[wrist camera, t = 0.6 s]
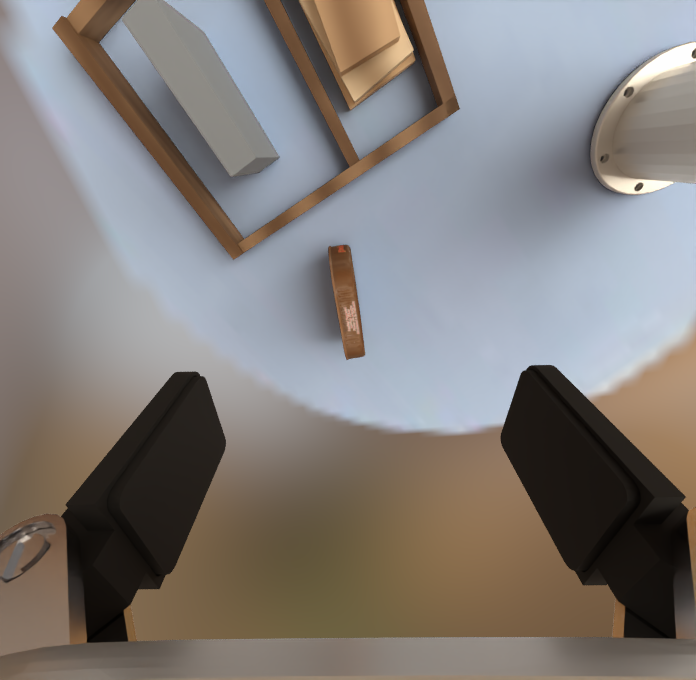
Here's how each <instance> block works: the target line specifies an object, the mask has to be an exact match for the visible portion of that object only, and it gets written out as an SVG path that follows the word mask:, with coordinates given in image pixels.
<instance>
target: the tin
mask: <svg viewBox="0 0 696 680" xmlns="http://www.w3.org/2000/svg"><path fill="white" fill-rule="evenodd" d="M328 253H329V265H330V272H331V279H332V285H333V291H334V297H335V303H336V308H337V314H338V319H339V325H340V330H341V336H342V342H343V347H344V352H345V356H346V359H347V360H348V359H351V358H358V357H363V356H365V349H364V341H363V333H362V325H361V317H360V310H359V303H358V297H357V289H356V282H355V276H354V269H353V263H352V256H351V250H350V247H349V246H348V245H340V246H334V247H331V246H329V247H328Z"/></svg>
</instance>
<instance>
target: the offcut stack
mask: <svg viewBox="0 0 696 680" xmlns="http://www.w3.org/2000/svg"><path fill="white" fill-rule="evenodd" d="M298 1H299V3H300V5H301V7H302V9H303V11H304V14H305V16H306V18H307V20H308V22H309V24H310V26H311V28H312V30H313V32H314V35H315V37H316V39H317V41H318V43H319V45H320V47H321V49H322V51H323V54H324V56H325V58H326V60H327V62H328V64H329V66H330V68H331V70H332V73H333V75H334V77H335V79H336V81H337V83H338V85H339V87H340V89H341V92H342V94H343V96H344V98H345V100H346V102H347V104H348V106H349V108H350V110H352V109H353V108H355V107H356V106H357V105H359V104H360V103H361V102H363V101H364V100H365V99H367V98H368V97H369V96H371V95H372V94H373V93H375V92H376V91H377V90H379V89H380V88H381V87H383V86H384V85H386V84H387V83H388V82H390V81H391V80H392V79H394V78H395V77H396V76H398V75H399V74H400V73H402V72H403V71H404V70H406V69H407V68H408V67H410V66H411V65H412V64H414V62H415V57H414V54H413V50H414V49H413V47H412V45H411V42H410V40H409V38H408V36H407V33H406V31H405V29H404V26H403V24H402V21H401V18H400V16H399V13H398V10H397V7H396V5H395V2H394V0H298Z"/></svg>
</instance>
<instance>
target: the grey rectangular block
mask: <svg viewBox="0 0 696 680" xmlns="http://www.w3.org/2000/svg"><path fill="white" fill-rule="evenodd" d="M122 21H123V22H124V24H125V25H126V27H127V28H128V29H129V31H130V32H131V34H132V35H133V37H134V38H135V40H136V41H137V42H138V44H139V45H140V47H141V48H142V50H143V51H144V52H145V54H146V55H147V57H148V58H149V60H150V61H151V63H152V64H153V65H154V67H155V68H156V70H157V71H158V73H159V74H160V76H161V77H162V78H163V80H164V81H165V83H166V84H167V86H168V87H169V89H170V90H171V91H172V93H173V94H174V96H175V97H176V99H177V100H178V101H179V103H180V104H181V106H182V107H183V109H184V110H185V112H186V113H187V114H188V116H189V117H190V119H191V120H192V122H193V123H194V125H195V126H196V127H197V129H198V130H199V132H200V133H201V135H202V136H203V137H204V139H205V140H206V142H207V143H208V145H209V146H210V148H211V149H212V150H213V152H214V153H215V155H216V156H217V158H218V159H219V161H220V162H221V163H222V165H223V166H224V168H225V169H226V171H227V172H228V173H229V175H230V176H231V177H235V176H242V175H248V174H254V173H259V172H261V171H262V170H263V169H265V168H266V167H267V166H269V165H270V164H271V163H273V162H274V161H275V160H277V159H278V158H279V155H278V153H277V152H276V150H275V148H274V147H273V145H272V143H271V142H270V140H269V139H268V137H267V135H266V134H265V132H264V130H263V129H262V127H261V125H260V124H259V122H258V120H257V119H256V117H255V115H254V114H253V112H252V110H251V109H250V107H249V105H248V104H247V102H246V101H245V99H244V97H243V96H242V94H241V92H240V91H239V89H238V87H237V86H236V84H235V82H234V81H233V79H232V77H231V76H230V74H229V72H228V71H227V69H226V68H225V66H224V64H223V63H222V61H221V59H220V58H219V56H218V54H217V53H216V51H215V49H214V48H213V46H212V44H211V43H210V41H209V39H208V38H207V36H206V34H205V33H204V32H203V31H202V30H201V29H200V28H198V27H197V26H196V25H194V24H193V23H192V22H191V21H189V20H188V19H187V18H186V17H184V16H183V15H182V14H180V13H179V12H178V11H177V10H175V9H174V8H173V7H172V6H170V5H169V4H168V3H167V2H165V1H164V0H137V2H136V3H135V4H134V5H133V6H132V7H131V8H130V10H129V11H128V12H127V13H126V14H125V15H124V16H123V18H122Z"/></svg>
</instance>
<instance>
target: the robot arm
mask: <svg viewBox="0 0 696 680" xmlns="http://www.w3.org/2000/svg"><path fill="white" fill-rule="evenodd" d="M590 157H591V165H592V168H593V171H594V174H595V176H596V177H597V179H598V180H599V182H600V183H601V184H602V185H604V186H605V187H606V188H607V189H609V190H612V191H614V192H616V193H622V194H629V195H639V194H646V193H651V192H654V191H657V190H660V189H663V188H665V187H667V186H669V185H671V184H673V183H675V182H680V183H692V184H696V42H689V43H685V44H682V45H679V46H675V47H673V48H670V49H668V50H666V51H663V52H661V53H659V54H657V55H655V56H654V57H652V58H650V59H649V60H647V61H646V62H644V63H643V64H642V65H641V66H639V67H638V68H637V69H636V70H634V71H633V72H632V73H631V74H630V75H629V76H628V77H627V78H626V79H625V80H624V81H623V82H622V83H621V84H620V85H619V87H618V88H617V89H616V91H615V92H614V93H613V95H612V96H611V97H610V99H609V100H608V102H607V103H606V105H605V107H604V109H603V110H602V112H601V114H600V116H599V119H598V121H597V124H596V126H595V129H594V133H593V137H592V141H591V151H590ZM600 158H601V159H600ZM501 444H502V446H503V449H504V451H505V452H506V454H507V456H508V458H509V460H510V462H511V464H512V465H513V467H514V469H515V471H516V473H517V475H518V477H519V478H520V480H521V482H522V484H523V486H524V487H525V489H526V491H527V493H528V495H529V497H530V499H531V501H532V502H533V504H534V506H535V508H536V510H537V512H538V513H539V515H540V517H541V519H542V521H543V523H544V525H545V527H546V528H547V530H548V532H549V534H550V536H551V538H552V540H553V541H554V543H555V545H556V547H557V549H558V551H559V553H560V554H561V556H562V558H563V560H564V562H565V563H566V565H567V566H568V567H569V568H570V569H571V570H574V571H575V572H576V574H577V575H578V577H579V579H580V581H581V582H582V584H583V585H607V584H608V586H609V587H610V589H611V590H612V592H613V594H614V596H615V609H614V623H613V635H612V637H611V638H609V637H608V638H607V637H545V638H544V637H530V638H529V637H509V638H508V637H505V638H504V637H503V638H502V637H497V638H496V637H495V638H494V637H490V638H489V637H488V638H486V637H481V638H479V637H476V638H475V637H464V638H463V637H462V638H315V639H313V638H312V639H311V638H310V639H228V640H226V639H225V640H224V639H223V640H163V641H162V640H161V641H137V638H136V632H135V626H134V620H133V615H132V609H131V602H132V600H133V598H134V596H135V594H136V592H137V590H138V589H160V587H161V584H162V582H163V580H164V577H165V575H167V574H170V573H171V572H172V570H173V569H174V567H175V565H176V563H177V560H178V558H179V556H180V554H181V551H182V549H183V547H184V544H185V542H186V540H187V537H188V535H189V532H190V530H191V528H192V526H193V523H194V521H195V519H196V516H197V514H198V511H199V509H200V507H201V504H202V502H203V500H204V498H205V495H206V493H207V491H208V488H209V486H210V484H211V481H212V479H213V477H214V474H215V472H216V470H217V467H218V465H219V463H220V460H221V458H222V456H223V453H224V451H225V446H226V440H225V436H224V433H223V430H222V427H221V424H220V421H219V418H218V415H217V412H216V409H215V406H214V403H213V399H212V396H211V394H210V390H209V387H208V384H207V381H206V379H205V378H204V377H203V376H200V374H199V373H198V372H176V373H174V374H173V375H172V376H171V377H170V378H169V380H168V381H167V382H166V383H165V385H164V386H163V387H162V388H161V389H160V391H159V392H158V393H157V394H156V395H155V397H154V398H153V399H152V400H151V402H150V403H149V404H148V405H147V406H146V408H145V409H144V410H143V411H142V412H141V414H140V415H139V416H138V417H137V419H136V420H135V421H134V422H133V423H132V425H131V426H130V427H129V428H128V429H127V431H126V432H125V433H124V434H123V436H122V437H121V438H120V439H119V441H118V442H117V443H116V444H115V445H114V447H113V448H112V449H111V450H110V451H109V452H108V454H107V455H106V456H105V457H104V459H103V460H102V461H101V462H100V463H99V465H98V466H97V467H96V468H95V470H94V471H93V472H92V473H91V474H90V476H89V477H88V478H87V479H86V480H85V482H84V483H83V484H82V485H81V487H80V488H79V489H78V490H77V491H76V493H75V494H74V495H73V496H72V497H71V499H70V500H69V501H68V502H67V504H66V506H67V507H68V509H67V510H66V511H65V512H64V513H63V515H62V516H61V517H60V516H59V515H57V514H44V515H39V516H34V517H32V518H29V519H27V520H24V521H22V522H20V523H18V524H16V525H14V526H13V527H11V528H9V529H8V530H6V531H4V532H3V533H2V534H0V680H696V507H693V508H692V509H691V510H688V509H687V508H686V507H685V506H684V505H683V504H682V503H681V502H682V501H683V500H684V498H685V496H684V494H683V493H681V492H680V491H679V490H678V489H677V488H676V487H675V486H674V485H673V484H672V483H671V482H670V481H669V480H668V479H667V478H666V477H665V476H664V475H663V474H662V473H661V472H660V471H659V470H658V469H657V468H656V467H655V466H654V465H653V464H652V463H651V462H650V461H649V460H648V459H647V458H646V457H645V456H644V455H643V454H642V453H641V452H640V451H639V450H638V449H637V448H636V447H635V446H634V445H633V444H632V443H631V442H630V441H629V440H628V439H627V438H626V437H625V436H624V435H623V434H622V433H621V432H620V431H619V430H618V429H617V428H616V427H615V426H614V425H613V424H612V423H611V422H610V421H609V420H608V419H607V418H606V417H605V416H604V415H603V414H602V413H601V412H600V411H599V410H598V409H597V408H596V407H595V406H594V405H593V404H592V403H591V402H590V401H589V400H588V399H587V398H586V397H585V396H584V395H583V394H582V393H581V392H580V391H579V390H578V389H577V388H576V387H575V386H574V385H573V384H572V383H571V382H570V381H569V380H568V379H567V378H566V377H565V376H564V375H563V374H562V373H561V372H560V371H559V370H558V369H557V368H556V367H554V366H552V365H532V366H529V367H528V368H527V370H526V371H523V372H522V373H521V375H520V378H519V381H518V384H517V387H516V390H515V393H514V396H513V399H512V402H511V405H510V408H509V411H508V414H507V417H506V420H505V424H504V427H503V430H502V433H501Z"/></svg>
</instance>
